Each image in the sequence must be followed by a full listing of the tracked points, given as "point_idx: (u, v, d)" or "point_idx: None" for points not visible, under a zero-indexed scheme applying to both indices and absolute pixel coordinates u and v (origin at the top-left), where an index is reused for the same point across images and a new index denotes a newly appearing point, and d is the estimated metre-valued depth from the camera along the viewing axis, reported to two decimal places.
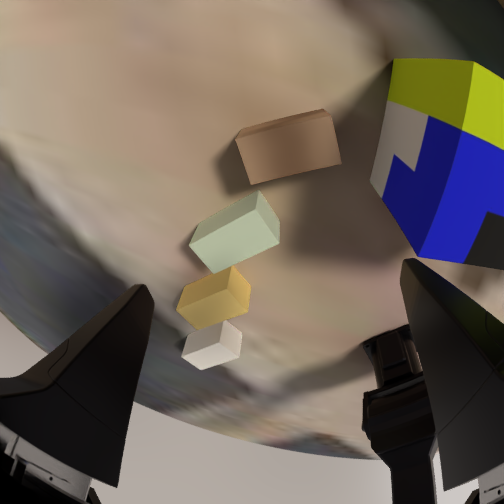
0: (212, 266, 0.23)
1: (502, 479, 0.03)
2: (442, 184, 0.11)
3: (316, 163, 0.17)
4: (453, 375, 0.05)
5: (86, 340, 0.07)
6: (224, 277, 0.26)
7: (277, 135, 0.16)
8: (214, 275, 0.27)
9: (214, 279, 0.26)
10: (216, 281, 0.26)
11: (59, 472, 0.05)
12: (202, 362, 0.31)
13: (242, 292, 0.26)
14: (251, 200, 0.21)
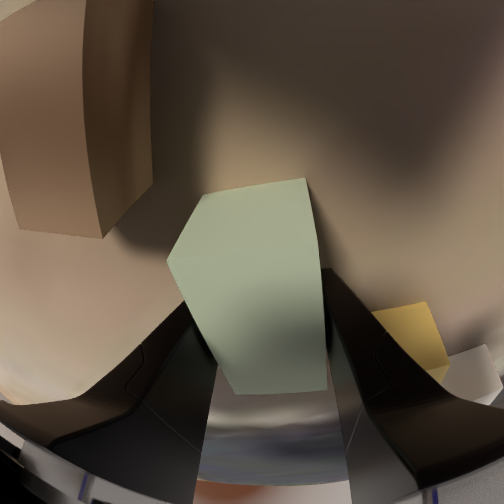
0: (306, 387, 0.09)
1: None
2: None
3: (68, 48, 0.04)
4: (345, 396, 0.06)
5: (169, 345, 0.06)
6: None
7: (8, 144, 0.05)
8: None
9: None
10: None
11: None
12: None
13: (414, 338, 0.09)
14: None
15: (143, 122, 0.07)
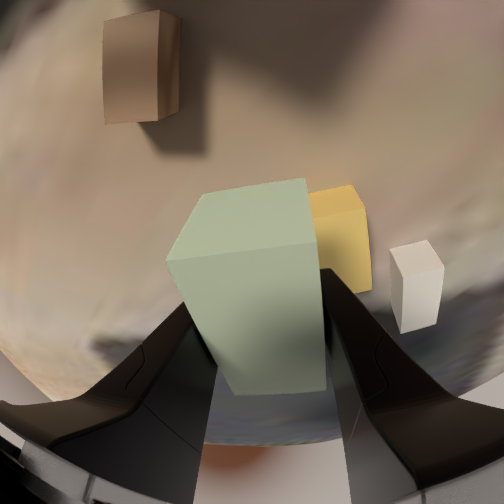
0: (305, 387, 0.09)
1: None
2: None
3: (150, 38, 0.10)
4: (344, 396, 0.06)
5: (169, 345, 0.06)
6: None
7: (110, 78, 0.11)
8: None
9: None
10: None
11: None
12: (424, 315, 0.19)
13: (340, 199, 0.16)
14: None
15: (176, 78, 0.14)
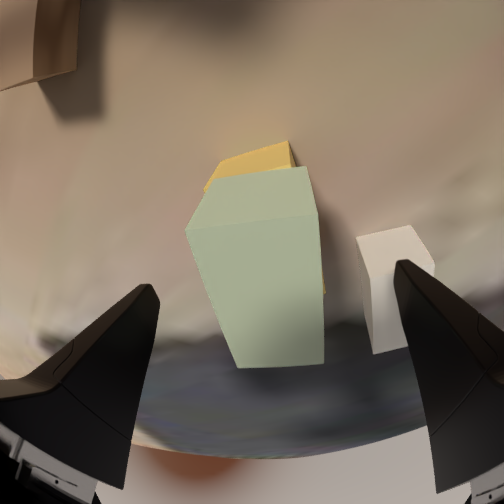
0: (304, 359, 0.10)
1: (494, 484, 0.03)
2: None
3: None
4: (445, 377, 0.05)
5: (92, 341, 0.07)
6: None
7: None
8: None
9: None
10: None
11: None
12: None
13: (261, 159, 0.11)
14: None
15: (72, 33, 0.09)
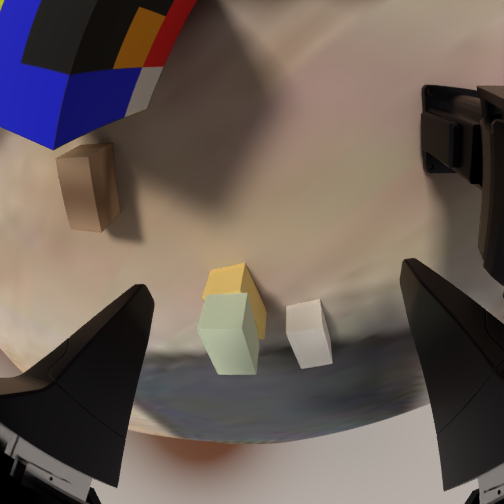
0: (247, 372, 0.22)
1: (502, 479, 0.03)
2: (8, 126, 0.09)
3: (87, 178, 0.17)
4: (453, 375, 0.05)
5: (86, 340, 0.07)
6: None
7: (68, 201, 0.18)
8: None
9: None
10: None
11: (59, 472, 0.05)
12: (318, 357, 0.26)
13: (229, 279, 0.23)
14: None
15: (114, 191, 0.21)
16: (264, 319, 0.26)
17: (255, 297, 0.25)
